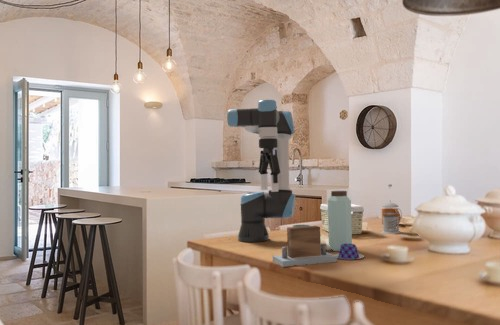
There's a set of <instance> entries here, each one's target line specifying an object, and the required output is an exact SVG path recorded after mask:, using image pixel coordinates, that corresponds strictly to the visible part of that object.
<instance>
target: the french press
mask: <svg viewBox="0 0 500 325" xmlns="http://www.w3.org/2000/svg"><path fill="white" fill-rule="evenodd" d="M387 187H389V188H391V187H392V184H391V183H389V184H388V185H387ZM382 207H383V208H390V213H384V215H397V213H391V208H395V209H397V210H398V212H399V213H400V215H399V216H400V217H401V219H400V221H401V220H402V215H403V213H402V210H401V209H400V208H399V205H398V204H397V203H394V202H391V201H389V202H387V203H385V204H383V205H382ZM397 210H395V211H397ZM396 219H397V221H396ZM396 222H397V223H396ZM391 224H392V225H391ZM399 224H400V223H399V218H398V216H397V217H396V216H383V224H382V225H383V228H382V231H381V233H382V234H389V235H391V234H392V235H393V234H401V231H400V229H399V228H400V227H399V226H400V225H399Z"/></svg>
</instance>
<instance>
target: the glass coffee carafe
mask: <svg viewBox="0 0 500 325" xmlns="http://www.w3.org/2000/svg"><path fill="white" fill-rule="evenodd" d="M395 210H397V209H396V207H393V208H391V213H397V215H384V213H390V208H388V207H384V208H381V224H382V225H383V216H396V217H397V216H398V218H399V224H400V222H401V220H402V218H401V212H400V211H399V212H398V210H399V209H398V210H397V211H395ZM399 215H400V216H399ZM400 219H401V220H400ZM396 221H397V219H396ZM396 223H397V222H396ZM391 225H392V224H391Z"/></svg>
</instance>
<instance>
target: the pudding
mask: <svg viewBox="0 0 500 325" xmlns="http://www.w3.org/2000/svg"><path fill="white" fill-rule="evenodd" d="M338 252H339V253H335V254H334V255H335V256H337V259H339V260H348V261H349V260H359V259H363V258H364V257H365V255H364V254H361V253H359V251H358V247H357V245H356V244H355V243H352V244H342V245H341V247H340V251H338Z"/></svg>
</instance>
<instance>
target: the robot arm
mask: <svg viewBox="0 0 500 325" xmlns="http://www.w3.org/2000/svg"><path fill="white" fill-rule="evenodd" d="M226 119H227V120H226V121H227V125H228V127H230V128H231V127H232V128H233V127H234V128H237V127H240V128H244V130H246V132H249V133H253V134H256V135H258V138H260V139H258V148H259V149H262V150H260V155H259V156H260V158H259V164H258V173H259V175H260V190H261V191H255V192H250V193H249V192H248V193H244V194H242V195H241V197H240V218H241V220H240V221H241V224H240V229H239V232H238V235H237V240H238V241H239V242H244V243H256V242H257V243H258V242H259V243H260V242H265V241H269V240H270V237H269V236H270V235H269V231H268V228H267V225H266V221H265V219H290V218H293V216H294V212H295V206H296V205H295V204H296V194H294V193H293V190H292V188H291V187H290V150H289V149H290V147H289V146H290V145H289V144H290V142H289V141H290V140H291V139H292V136H293V135H294V134H295V126H294V120H293V114H292V112H291V111H289V110H278V107H277V101H276V100H274V99H262V100H259V101H258V102H257V108H256V107H255V108H232V109H228V110H227V114H226ZM268 167H269V168H270V173H269V172H268ZM268 174H270V189H269V190H268ZM265 190H266V191H268V194H265V192H264V191H265Z"/></svg>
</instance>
